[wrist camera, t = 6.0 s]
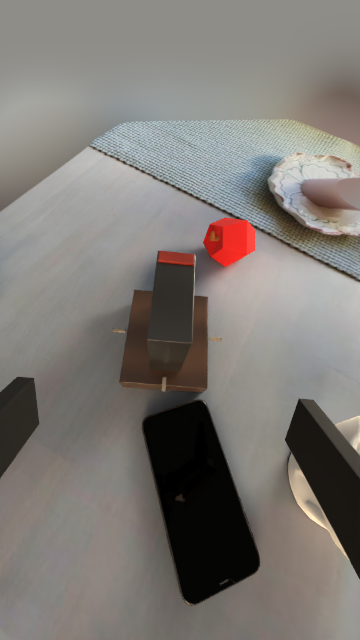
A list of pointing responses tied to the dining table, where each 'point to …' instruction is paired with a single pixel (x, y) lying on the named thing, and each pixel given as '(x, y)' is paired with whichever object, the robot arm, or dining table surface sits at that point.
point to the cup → (356, 433)
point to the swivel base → (137, 356)
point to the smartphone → (198, 502)
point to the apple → (229, 240)
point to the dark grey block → (171, 311)
